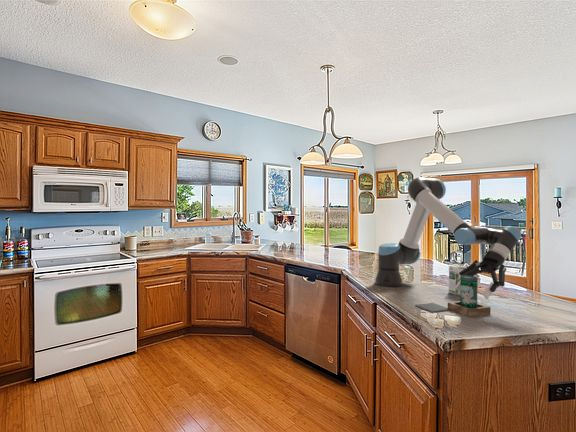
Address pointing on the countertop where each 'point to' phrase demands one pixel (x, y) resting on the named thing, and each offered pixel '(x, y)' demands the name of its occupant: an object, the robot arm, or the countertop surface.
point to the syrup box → (454, 278)
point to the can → (468, 291)
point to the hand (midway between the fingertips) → (470, 292)
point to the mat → (432, 307)
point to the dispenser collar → (469, 309)
